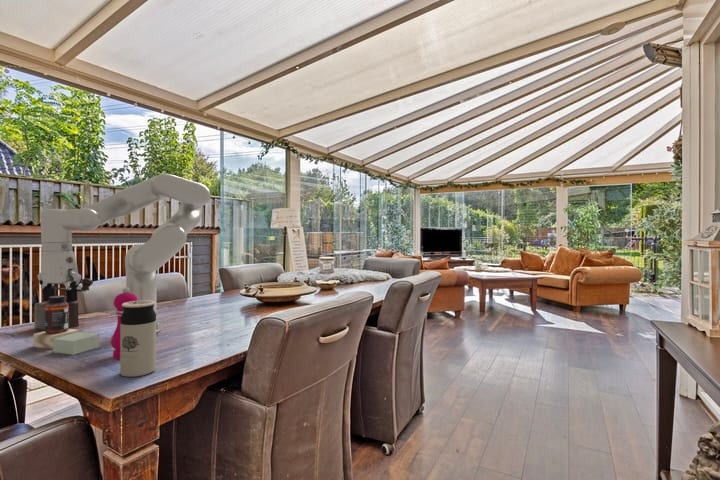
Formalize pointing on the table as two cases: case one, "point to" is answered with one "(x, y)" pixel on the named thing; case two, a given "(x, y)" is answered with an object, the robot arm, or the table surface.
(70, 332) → the maple block
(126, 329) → the travel mug
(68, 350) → the green block
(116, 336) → the pepper mill
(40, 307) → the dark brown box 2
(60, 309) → the supplement bottle
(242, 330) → the table surface
